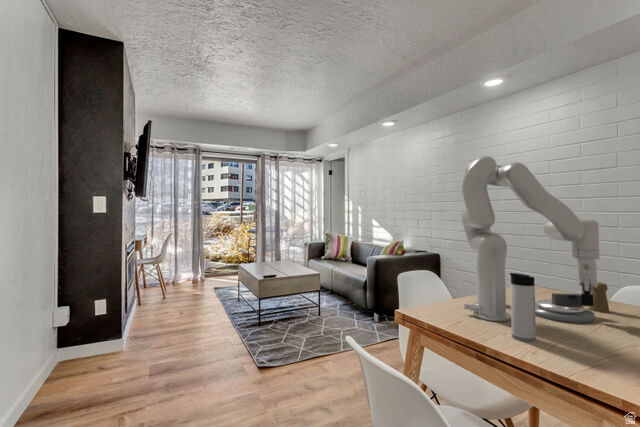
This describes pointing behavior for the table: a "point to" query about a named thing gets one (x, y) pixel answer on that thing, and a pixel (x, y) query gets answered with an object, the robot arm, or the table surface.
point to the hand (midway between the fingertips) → (587, 305)
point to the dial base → (566, 316)
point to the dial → (563, 303)
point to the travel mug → (523, 307)
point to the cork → (600, 298)
